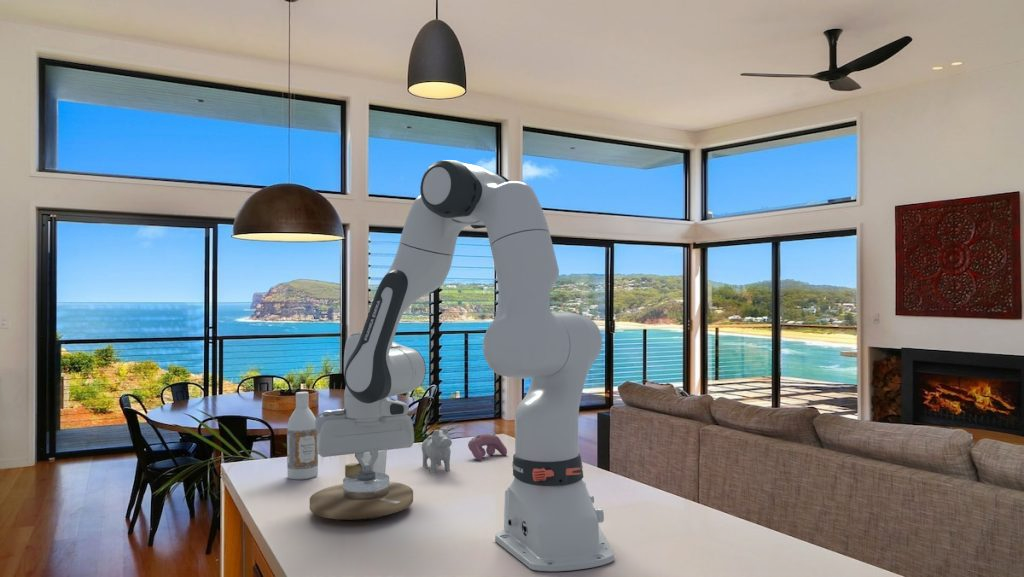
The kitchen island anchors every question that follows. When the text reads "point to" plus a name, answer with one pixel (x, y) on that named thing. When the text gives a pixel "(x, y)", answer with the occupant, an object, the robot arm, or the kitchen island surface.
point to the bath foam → (302, 441)
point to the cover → (366, 486)
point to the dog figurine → (437, 449)
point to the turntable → (339, 507)
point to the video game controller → (486, 440)
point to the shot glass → (377, 461)
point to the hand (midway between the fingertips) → (366, 472)
